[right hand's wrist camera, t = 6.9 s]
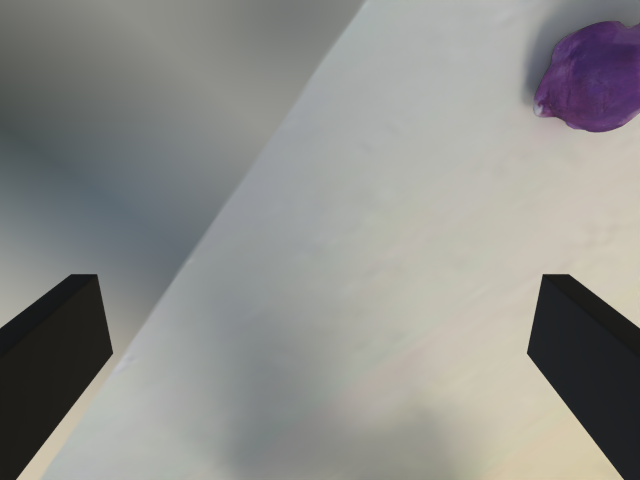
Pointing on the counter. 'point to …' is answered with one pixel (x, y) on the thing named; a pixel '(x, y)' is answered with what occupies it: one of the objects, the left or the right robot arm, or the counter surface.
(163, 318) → the counter surface
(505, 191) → the counter surface
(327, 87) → the counter surface
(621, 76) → the figurine
